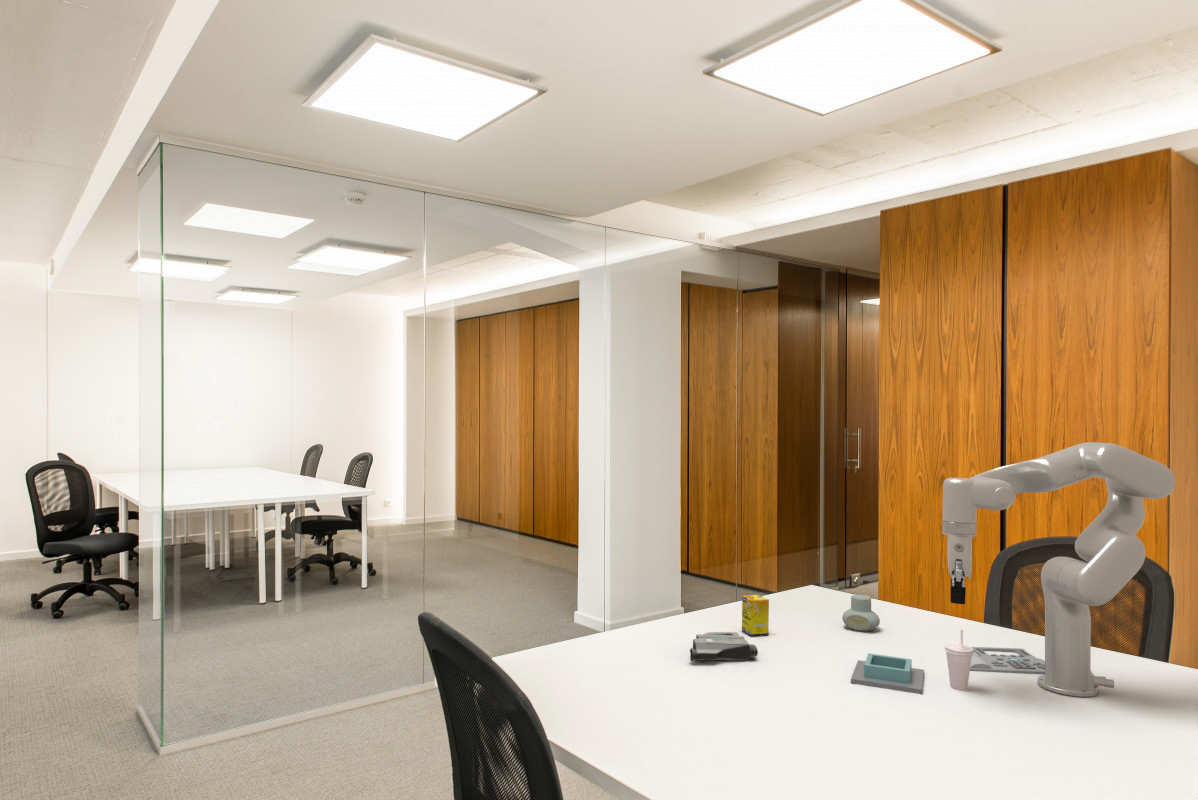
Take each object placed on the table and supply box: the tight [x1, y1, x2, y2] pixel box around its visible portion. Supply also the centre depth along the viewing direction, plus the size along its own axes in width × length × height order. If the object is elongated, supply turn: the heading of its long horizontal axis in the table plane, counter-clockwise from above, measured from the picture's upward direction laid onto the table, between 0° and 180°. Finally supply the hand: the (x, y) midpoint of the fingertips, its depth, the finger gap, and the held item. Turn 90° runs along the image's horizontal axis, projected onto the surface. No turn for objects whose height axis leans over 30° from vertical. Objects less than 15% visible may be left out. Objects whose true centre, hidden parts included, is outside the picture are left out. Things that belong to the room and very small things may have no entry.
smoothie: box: [944, 629, 975, 691], centre depth 184 cm, size 6×6×14 cm
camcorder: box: [689, 631, 759, 662], centre depth 206 cm, size 16×20×5 cm
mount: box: [850, 653, 925, 695], centre depth 190 cm, size 16×16×4 cm
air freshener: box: [841, 594, 881, 633], centre depth 234 cm, size 11×8×10 cm
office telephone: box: [970, 646, 1045, 675], centre depth 205 cm, size 23×3×20 cm
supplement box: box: [741, 594, 770, 638], centre depth 227 cm, size 6×6×11 cm
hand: (957, 599), depth 184 cm, fingers open, 9 cm apart
